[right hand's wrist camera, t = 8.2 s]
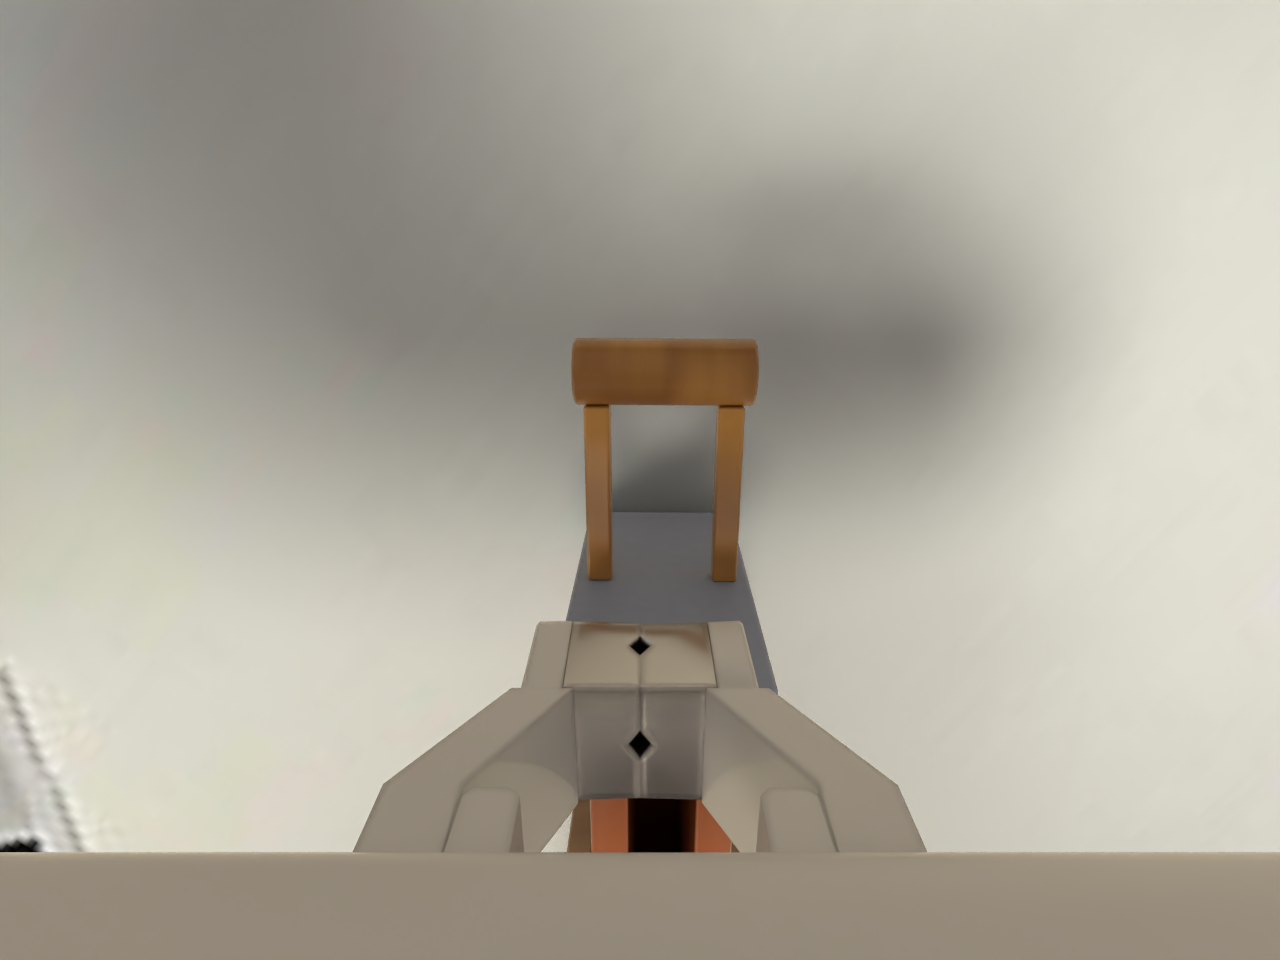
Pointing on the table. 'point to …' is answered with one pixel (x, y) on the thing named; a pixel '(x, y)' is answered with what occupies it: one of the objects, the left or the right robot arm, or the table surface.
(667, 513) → the drawer
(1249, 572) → the table surface
